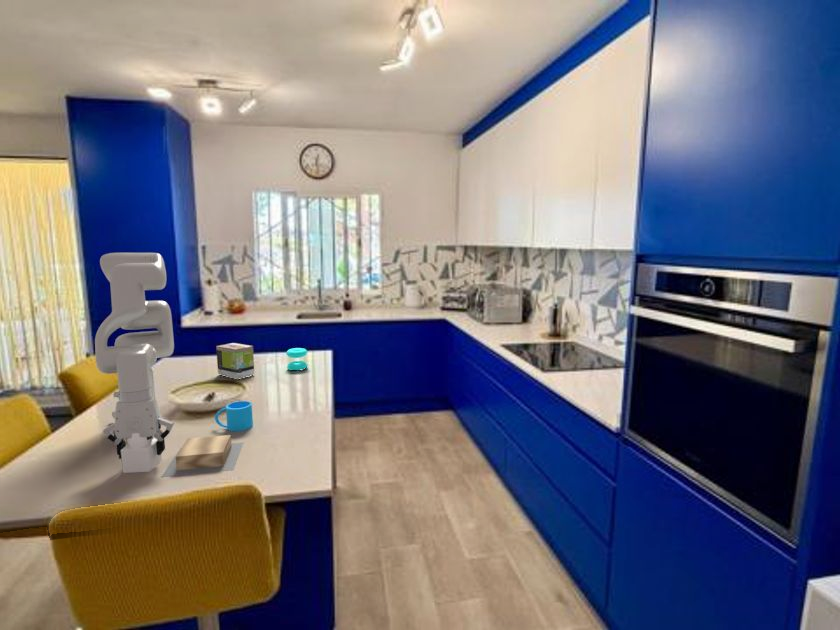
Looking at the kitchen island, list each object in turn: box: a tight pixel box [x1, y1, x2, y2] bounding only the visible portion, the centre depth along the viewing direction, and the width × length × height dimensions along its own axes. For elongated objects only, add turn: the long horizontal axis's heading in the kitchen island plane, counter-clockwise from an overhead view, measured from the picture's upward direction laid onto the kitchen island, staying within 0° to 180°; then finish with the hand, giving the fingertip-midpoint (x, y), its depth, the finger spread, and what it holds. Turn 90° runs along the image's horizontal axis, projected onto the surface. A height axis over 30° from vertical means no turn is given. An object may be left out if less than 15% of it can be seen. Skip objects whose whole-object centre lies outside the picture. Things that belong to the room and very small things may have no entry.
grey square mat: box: [161, 442, 244, 478], centre depth 131 cm, size 18×18×1 cm
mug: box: [214, 400, 254, 432], centre depth 153 cm, size 12×8×8 cm
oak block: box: [175, 434, 232, 470], centre depth 130 cm, size 12×12×4 cm
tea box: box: [215, 342, 255, 379], centre depth 215 cm, size 15×10×15 cm, turn 58°
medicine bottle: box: [120, 433, 163, 474], centre depth 125 cm, size 7×7×12 cm
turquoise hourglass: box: [285, 347, 309, 371], centre depth 227 cm, size 10×10×10 cm
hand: (141, 454), depth 126 cm, fingers open, 9 cm apart
